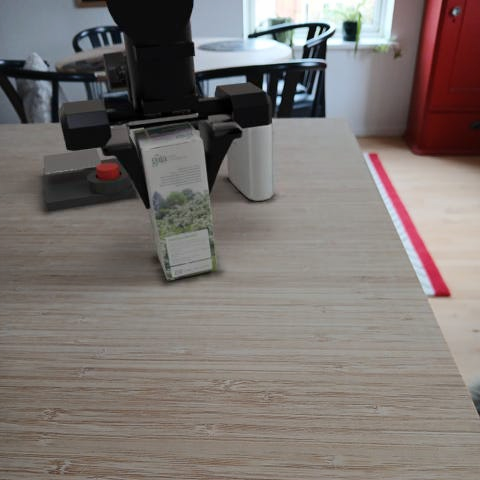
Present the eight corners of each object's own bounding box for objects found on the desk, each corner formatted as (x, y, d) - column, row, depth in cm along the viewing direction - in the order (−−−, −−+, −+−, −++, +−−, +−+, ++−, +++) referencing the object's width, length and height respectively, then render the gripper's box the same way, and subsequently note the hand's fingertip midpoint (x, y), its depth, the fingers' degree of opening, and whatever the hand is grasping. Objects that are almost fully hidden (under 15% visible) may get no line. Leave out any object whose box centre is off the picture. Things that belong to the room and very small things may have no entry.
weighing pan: (97, 151, 80) (96, 148, 80) (102, 168, 74) (102, 165, 74) (43, 158, 78) (43, 155, 78) (45, 176, 72) (44, 173, 72)
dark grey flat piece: (122, 165, 83) (119, 147, 81) (136, 199, 72) (133, 178, 70) (45, 176, 80) (40, 157, 78) (48, 213, 69) (42, 192, 67)
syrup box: (206, 246, 59) (188, 117, 51) (219, 271, 55) (202, 135, 46) (157, 257, 58) (130, 127, 49) (167, 283, 54) (139, 146, 45)
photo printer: (224, 178, 77) (219, 90, 70) (251, 173, 78) (249, 86, 71) (249, 204, 69) (246, 108, 62) (278, 198, 70) (279, 103, 63)
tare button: (118, 172, 73) (116, 161, 72) (121, 179, 71) (119, 168, 70) (97, 175, 73) (95, 164, 72) (99, 182, 70) (97, 171, 69)
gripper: (233, 10, 51) (239, 164, 60) (39, 25, 47) (77, 188, 56) (274, 21, 43) (274, 199, 52) (40, 41, 38) (85, 231, 47)
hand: (177, 202), depth 52 cm, fingers closed on syrup box, 6 cm apart
